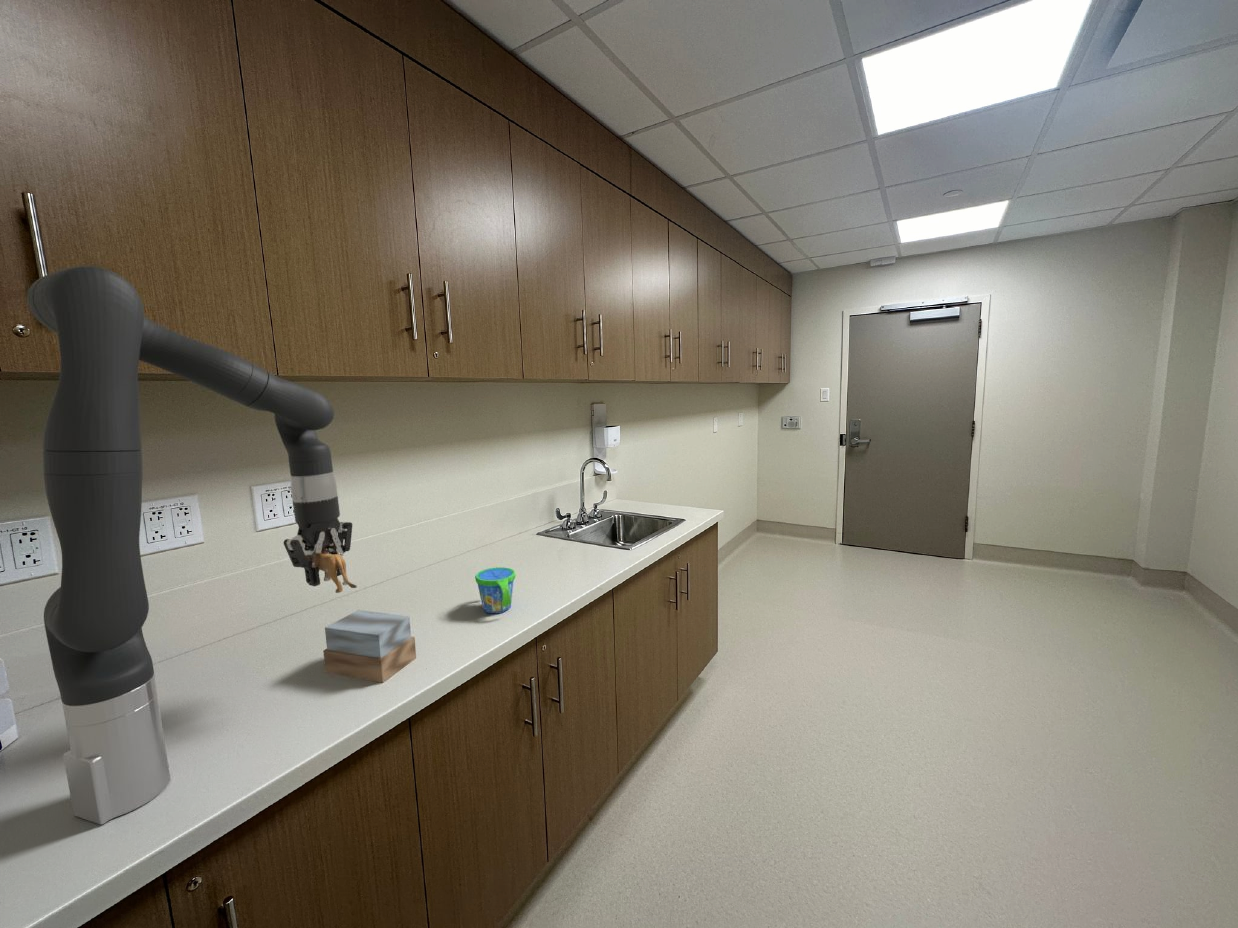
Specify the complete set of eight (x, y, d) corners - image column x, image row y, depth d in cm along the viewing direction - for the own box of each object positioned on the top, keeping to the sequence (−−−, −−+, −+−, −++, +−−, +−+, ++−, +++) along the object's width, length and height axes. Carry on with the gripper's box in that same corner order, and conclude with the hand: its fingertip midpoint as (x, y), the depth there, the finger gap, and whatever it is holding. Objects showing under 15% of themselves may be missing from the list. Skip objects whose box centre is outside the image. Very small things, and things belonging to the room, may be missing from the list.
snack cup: (524, 615, 131) (522, 578, 129) (484, 624, 126) (482, 586, 125) (508, 595, 144) (506, 562, 143) (472, 602, 140) (470, 568, 138)
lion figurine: (292, 586, 97) (286, 542, 96) (317, 576, 102) (312, 535, 101) (345, 595, 92) (339, 549, 90) (369, 584, 97) (364, 540, 95)
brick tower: (383, 682, 100) (378, 636, 99) (325, 672, 104) (320, 628, 103) (416, 657, 110) (412, 615, 108) (362, 649, 114) (358, 608, 113)
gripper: (296, 505, 87) (308, 596, 90) (359, 489, 101) (368, 568, 103) (265, 504, 89) (278, 592, 92) (331, 488, 103) (340, 566, 106)
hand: (326, 579), depth 98 cm, fingers closed on lion figurine, 4 cm apart
